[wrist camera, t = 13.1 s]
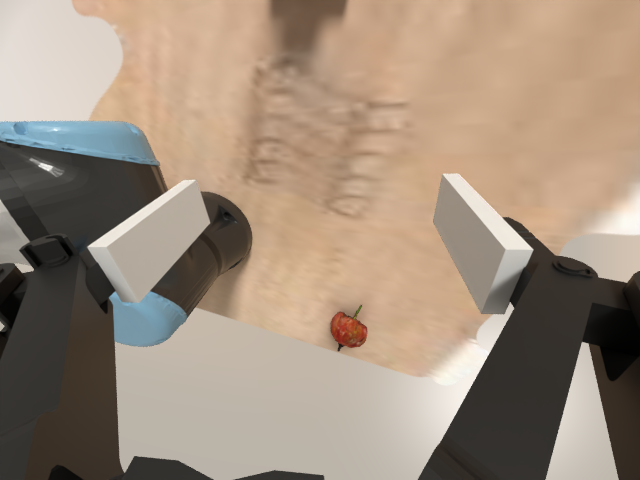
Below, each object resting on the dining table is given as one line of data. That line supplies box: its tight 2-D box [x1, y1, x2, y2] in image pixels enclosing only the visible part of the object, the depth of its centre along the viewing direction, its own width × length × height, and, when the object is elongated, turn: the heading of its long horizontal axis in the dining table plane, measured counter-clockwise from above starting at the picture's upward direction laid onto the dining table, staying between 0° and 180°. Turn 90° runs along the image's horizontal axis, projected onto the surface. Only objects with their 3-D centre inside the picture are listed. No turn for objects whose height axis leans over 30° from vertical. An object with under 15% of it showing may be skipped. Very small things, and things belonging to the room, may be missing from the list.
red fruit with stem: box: [331, 305, 367, 351], centre depth 53 cm, size 7×7×10 cm
